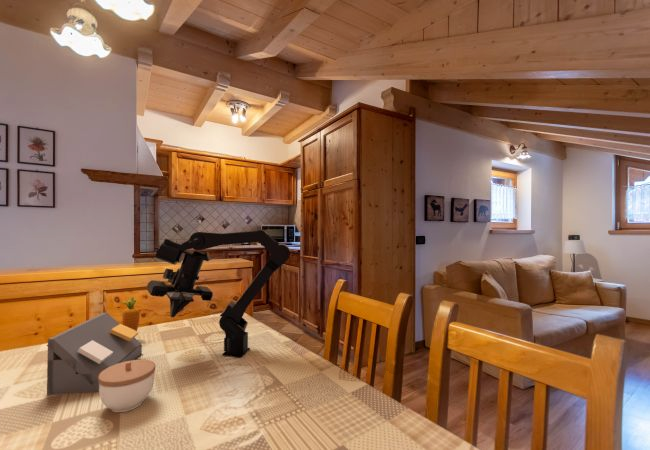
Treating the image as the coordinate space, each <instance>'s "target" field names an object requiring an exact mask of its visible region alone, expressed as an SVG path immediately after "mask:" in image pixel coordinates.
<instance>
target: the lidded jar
mask: <svg viewBox="0 0 650 450" xmlns="http://www.w3.org/2000/svg"><path fill="white" fill-rule="evenodd" d="M155 373H156V363H155V362H154V361H152V360H150V359H135V360H131V361H125V362H122V363H118V364H115V365H113V366H110V367H108V368H107V369H105V370H103V371H102V372H101V373H100V374H99V376H98V382H99V392H98V394H99V398H100V400H101V402H102V404H103V405H104V406H105V407H106V408H108V409H110V411H112V412H114V413H125V412H129V411H132V410H134V409H137V408H138V407H140V406H141V405H142V403H144V401H145V400H146V399H147V397H148V396H149V395H150V393H151V391H152V389H153V387H154V382H155V375H156V374H155Z"/></svg>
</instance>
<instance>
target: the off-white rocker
mask: <svg viewBox="0 0 650 450" xmlns="http://www.w3.org/2000/svg"><path fill="white" fill-rule="evenodd" d="M77 352H79V353H81V354H82V355H84V356H86V357H88V358H90V359H91V360H93V361H95V362H97V363H99V364H100V363H101V362H103V361H104V360H105V359H107V358H108V357H109V356H111V355H112V353H113V351H111V350H109V349H107V348H105V347H104V346H102V345H100V344H98V343H97V342H95V341H93V340H92V341H90V342H89V343H87V344H85V345H84V346H82V347H80V348H79V349H78V351H77Z"/></svg>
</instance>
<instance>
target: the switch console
mask: <svg viewBox="0 0 650 450" xmlns="http://www.w3.org/2000/svg"><path fill="white" fill-rule="evenodd" d="M119 324H120V322H118V321H117V320H116V318H114V317H113V316H111V314H110V313H109V312H101V313H99V314H97V315H96V316H94V317H92V318H89V319H88V320H85V321H83V322H81V323H80V324H79V323H78V324H77V325H75V326H73V327H71V328H69V329H66V330H65V331H62V332H61V333H58V334H56V335H54V336H52V337H50V338H48V339H47V344H46V347H47V363H46V364H47V367H46V368H47V370H46V371H47V374H46V395H61V394H63V395H65V394H78V393H79V394H80V393H96V392H97V393H99V382H98V376H99V374H100V373H101V372H102V371H103V370H105V369H107V368H108V367H110V366H113V365H115V364H118V363H122V362H125V361H131V360H137V358H138V357H140V356H141V355H142V351H143V346H142V345H143V344H142V343H141V342H140V341H139V340H138V339H137V338H136V337H134V338H133V339H132V340H130V341H127V340H125V339H123V338H121V337H119V336H116V335H114V334H112V333H110V331H111V329H113V328H114V327H116V326H118V325H119ZM92 340H93V341H95V342H97V343H98V344H100V345H102V346H104V347H105V348H107V349H109V350H111V351H113V353H112V355H111V356H109V357H108V358H107V359H105V360H104V361H103V362H101V363H100V364H99V363H97V362H95V361H93V360H91V359H90V358H88V357H86V356H84V355H82V354H81V353H79V352H77V351H78V349H79V348H80V347H82V346H84V345H85V344H87V343H89V342H90V341H92Z"/></svg>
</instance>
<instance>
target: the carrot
mask: <svg viewBox="0 0 650 450" xmlns="http://www.w3.org/2000/svg"><path fill="white" fill-rule="evenodd" d="M136 302H137V299H135V297H134V296H132V297H130V299H129V300H127V301H123V302H122V304H124V305H125V306H127V307H128V308H125V309H124V310H123V311H122V325H124V326H127V327H129V328H131V329H133V330H135V331H138V329H139V323H140V309H139V308H137V307H135V304H136Z"/></svg>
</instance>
